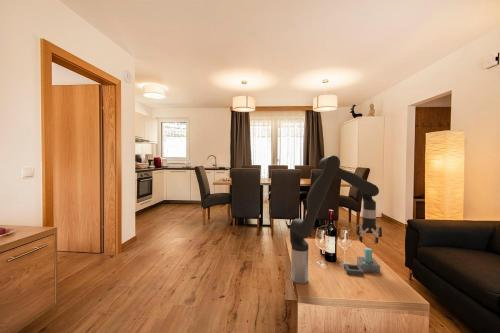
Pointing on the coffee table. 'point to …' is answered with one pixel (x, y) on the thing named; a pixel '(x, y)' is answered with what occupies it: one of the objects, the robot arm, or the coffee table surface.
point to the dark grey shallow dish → (353, 269)
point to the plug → (368, 255)
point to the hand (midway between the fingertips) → (368, 242)
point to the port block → (368, 265)
